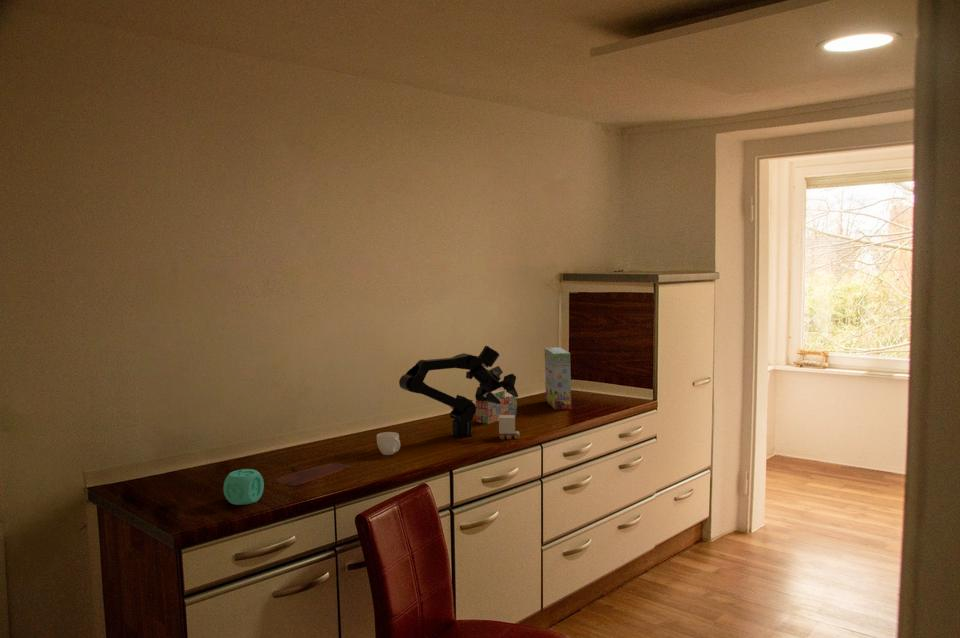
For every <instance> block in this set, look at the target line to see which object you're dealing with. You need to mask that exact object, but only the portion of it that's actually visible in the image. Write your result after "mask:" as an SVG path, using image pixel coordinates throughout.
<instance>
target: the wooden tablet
mask: <svg viewBox="0 0 960 638" xmlns="http://www.w3.org/2000/svg"><path fill="white" fill-rule="evenodd" d="M351 466H352V465H351V464H344V463H337V462H336V463H333V462H332V463H327V464H326V463H325V464H322V465H317V466H314V467H311V468H310V467H309V468H306V469H302V470H299V471H296V472H292V473H289V474H286V475H282V476H280V477H277V478H275V479H274V480H273V482H274V483H275V484H283V485H285V486H287V487H298V486H301V485H303V484H304V485H305V484H307V483H310V482H313V481H315V480H319V479H323V478H324V477H327V476H329V475H332V474H335V473H338V472H340V471H343V470H346V469H348V468H351Z"/></svg>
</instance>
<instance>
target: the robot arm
mask: <svg viewBox="0 0 960 638" xmlns="http://www.w3.org/2000/svg"><path fill="white" fill-rule="evenodd" d="M499 358H500V353H499V352H498V351H497V350H495V349H493V348H491V347H490V346H489V345H485V346H484V347H483V349H482V351H481V352H480V353H479V354H478V356H477V355H474V354H469V353H465V352H463V353H459V354H456V355H453V356H452V357H447V358H445V357H443V358H433V359H419V360H418V361H417V362H416V363H415V364H414V366H412V367H411V368H409V369H408V370H407V372H405V374H403V375H402V376H400V378H399V381H398V383H399V384H398V385H399V387H400V388H401V389H402V390H405V391H408V392H411V393H414V394H415V393H416V394H420V395H423V396H425V397H428V398H430V399H432V400H434V401H437V402H440V403H441V404H444V405H446V406H448V407H449V408H450V409H452V410H451V411H450V412H449V416H450V419H452V420H451V421H452V433H450V434H449V435H450V436H452V437H455V438H458V439H462V438H467V437H472V436H473V435H474V434H473V433H472V423H471V422H472V421H473V419H474V415H476V403H474V402H473V401H474V400H472V399H469V398H467V397H465V396H463V395H459V394H456V396H455V397H454V396H452V395H450V394H447V393H445V392H443V391H441V390H438V389H436V388H434V387H432V386H429V385H427V384H426V382H424V381H425V379H426V377H427V374H428V373H429V371H436V370H437V371H439V370H448V369H459V370H468V371H466V373H465V378H466V379H468V380H472V379H473V378H474V380H476V381H477V382H478V383H479V385H478V387H476V391H475V394H474V398H475V400H476V399H477V400H478V401H482V402H483V401H486V402H491V403H496V404H500V403H501V402H500V401H499V399H497V398H496V397H495V396H494V395H493V394H492V391H495V390H499V389H500V388H503V390H504V391H505V393H508V394H511V395H513V396H515V397H516V398H519V394H518V391H517V390H516V387H515V384H516V381H517V376H516V375H515V374H514V373H510V374H506V375H504V376H503V380H501V379H502V378H501V375H502V374H503V373H504V371H503V370H502V368H501V367H500V366H499V365H497V366H494V364H495V363H496V362H497V360H498V359H499ZM493 366H494V367H493ZM488 368H490V369H488ZM500 380H501V381H500ZM473 437H474V436H473Z"/></svg>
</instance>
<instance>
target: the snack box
mask: <svg viewBox="0 0 960 638" xmlns="http://www.w3.org/2000/svg"><path fill="white" fill-rule="evenodd" d="M543 350H544V372H545V373H544V375H545V377H544V378H545V379H544V380H545V382H544V383H545V384H544V385H545V402H547V403H548V405H550V406H551V407H552V408H553V410H557V411H559V410H560V411H561V410H572V376H571V375H572V373H571V372H572V371H571V368H572V367H571V366H572V365H571V361H572V360H571V358H572V357H571V352H569V351H568V350H566V349H564V348H562V347H559V346H558V347H557V346H556V347H544V349H543Z"/></svg>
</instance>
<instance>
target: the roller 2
mask: <svg viewBox="0 0 960 638" xmlns="http://www.w3.org/2000/svg"><path fill="white" fill-rule="evenodd" d="M513 435H514V439H515V440H519V439H520V437H521V436H520V435H521V434H520V431H519V430H515V434H513Z"/></svg>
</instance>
